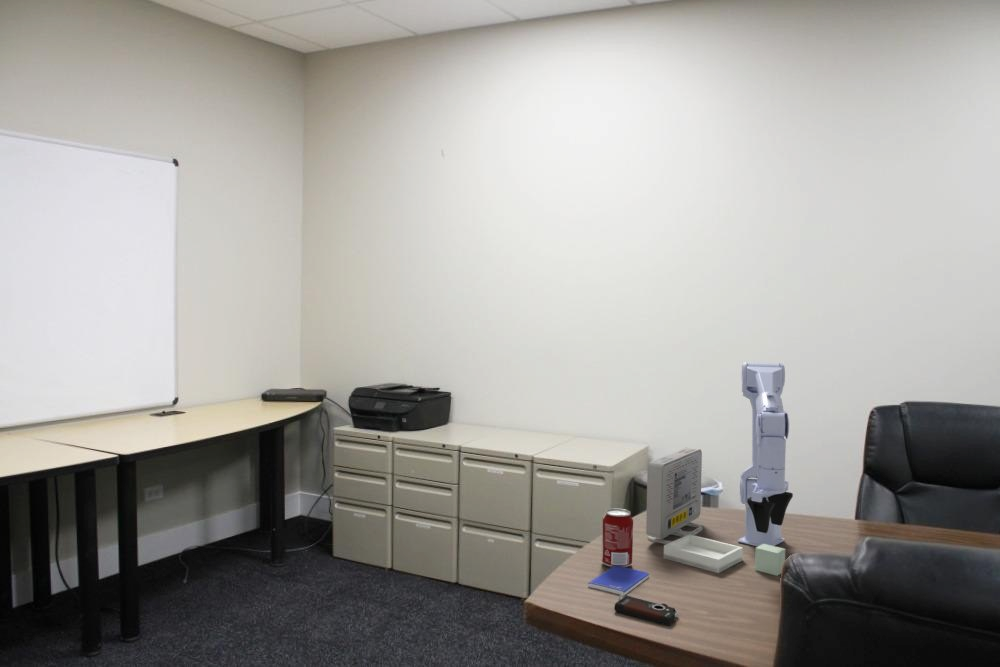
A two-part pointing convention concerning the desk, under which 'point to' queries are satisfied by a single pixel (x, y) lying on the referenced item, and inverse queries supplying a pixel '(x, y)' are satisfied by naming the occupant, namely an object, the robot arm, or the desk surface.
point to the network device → (673, 494)
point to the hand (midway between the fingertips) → (769, 528)
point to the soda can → (617, 538)
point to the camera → (646, 610)
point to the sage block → (769, 559)
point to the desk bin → (703, 553)
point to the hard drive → (618, 580)
